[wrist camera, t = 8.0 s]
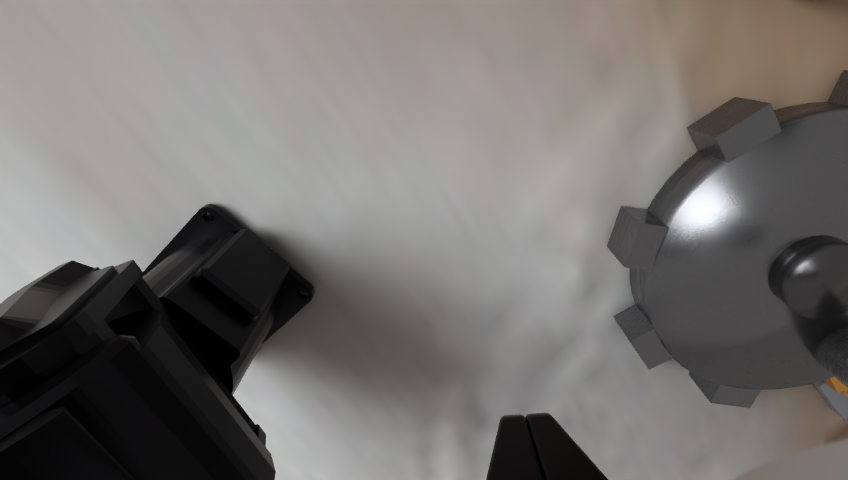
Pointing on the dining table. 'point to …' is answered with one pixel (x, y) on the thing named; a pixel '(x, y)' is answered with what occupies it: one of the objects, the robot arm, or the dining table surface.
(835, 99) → the sprocket
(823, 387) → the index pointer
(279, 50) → the dining table surface
